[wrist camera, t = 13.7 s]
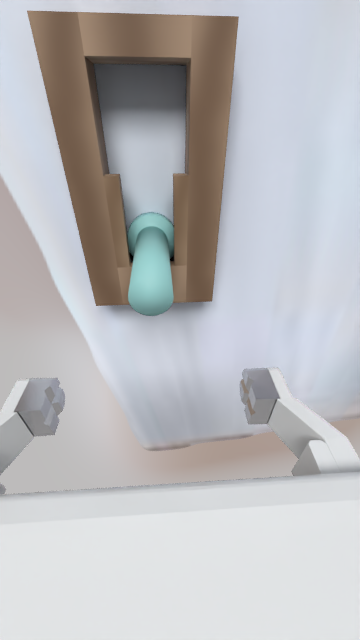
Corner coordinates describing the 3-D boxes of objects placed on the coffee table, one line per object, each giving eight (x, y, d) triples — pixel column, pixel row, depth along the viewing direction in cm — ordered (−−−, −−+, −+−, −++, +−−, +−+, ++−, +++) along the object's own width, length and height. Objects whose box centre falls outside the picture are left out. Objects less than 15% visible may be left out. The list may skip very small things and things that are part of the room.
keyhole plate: (227, 29, 18) (238, 16, 15) (207, 286, 30) (212, 301, 28) (44, 25, 17) (27, 10, 15) (100, 290, 29) (96, 305, 27)
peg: (176, 212, 25) (188, 263, 16) (176, 259, 28) (186, 324, 19) (124, 212, 24) (108, 265, 16) (130, 260, 27) (119, 327, 19)
